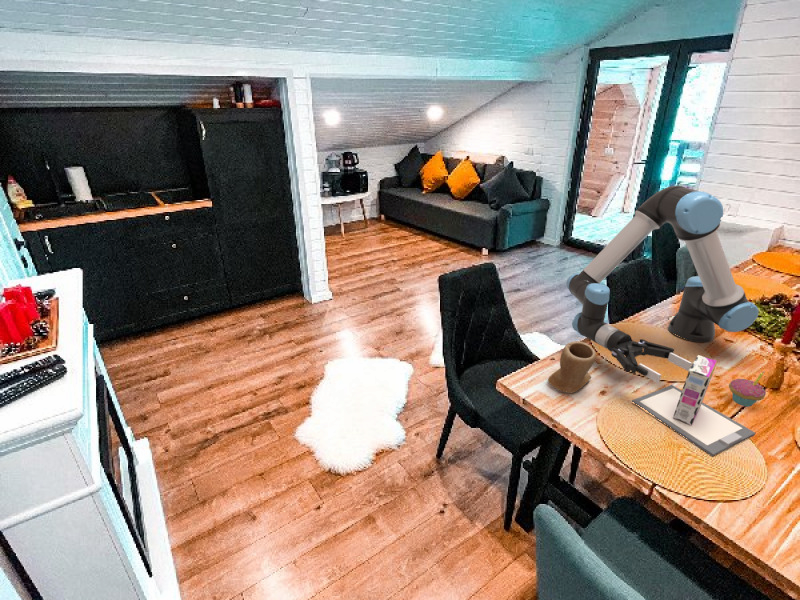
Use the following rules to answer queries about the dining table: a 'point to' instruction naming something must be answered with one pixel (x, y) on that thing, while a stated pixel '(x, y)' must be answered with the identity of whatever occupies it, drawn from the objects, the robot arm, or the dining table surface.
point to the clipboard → (695, 421)
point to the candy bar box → (694, 389)
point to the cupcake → (747, 391)
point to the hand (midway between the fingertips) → (675, 372)
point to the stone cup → (573, 367)
